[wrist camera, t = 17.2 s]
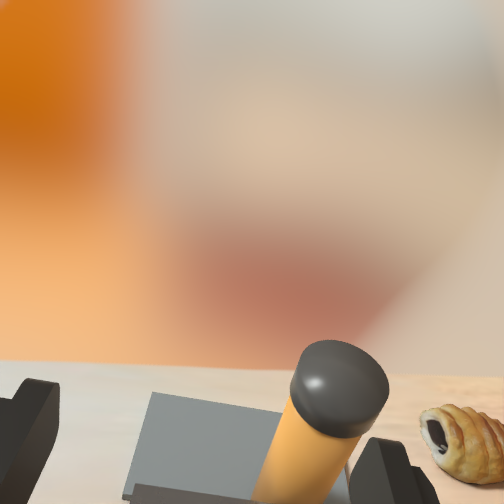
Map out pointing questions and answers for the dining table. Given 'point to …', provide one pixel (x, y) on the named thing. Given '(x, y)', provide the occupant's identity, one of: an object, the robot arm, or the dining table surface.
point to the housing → (180, 497)
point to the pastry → (465, 443)
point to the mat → (207, 448)
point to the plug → (321, 422)
